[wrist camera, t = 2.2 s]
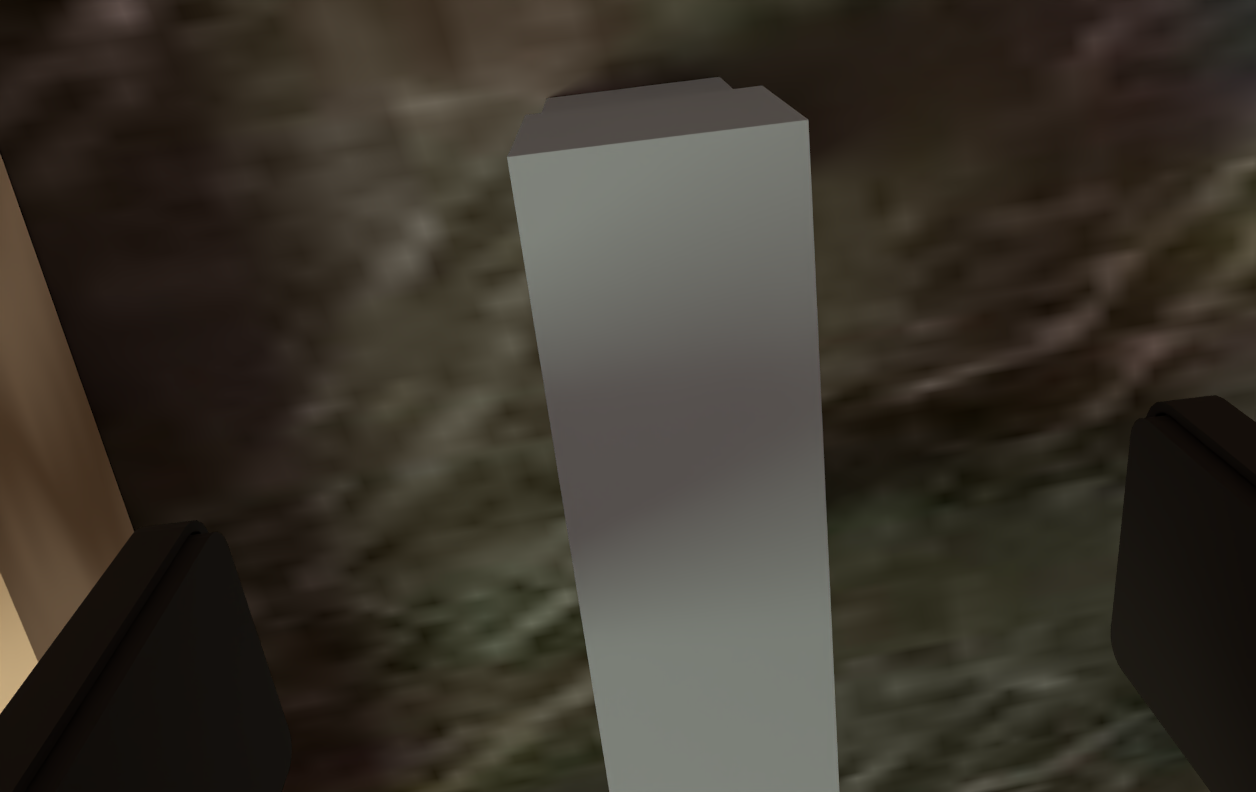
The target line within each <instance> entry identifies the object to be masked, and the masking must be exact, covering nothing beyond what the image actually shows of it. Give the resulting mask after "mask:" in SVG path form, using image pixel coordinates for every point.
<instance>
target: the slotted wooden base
mask: <svg viewBox="0 0 1256 792" xmlns="http://www.w3.org/2000/svg"><path fill="white" fill-rule="evenodd" d="M133 533H134V530H133V527H132V524H131V522H130V519H129V516H128V513H127V510H126V507H125V505H124V502H123V499H122V496H121V493H120V491H119V488H118V485H117V482H116V479H115V476H114V474H113V471H112V468H111V465H110V462H109V459H108V457H107V454H106V451H105V448H104V445H103V442H102V440H101V437H100V434H99V431H98V428H97V426H96V423H95V420H94V417H93V414H92V411H91V409H90V406H89V403H88V400H87V397H86V394H85V392H84V389H83V386H82V383H81V380H80V377H79V375H78V372H77V369H76V366H75V363H74V360H73V358H72V355H71V352H70V349H69V346H68V344H67V341H66V338H65V335H64V332H63V329H62V327H61V324H60V321H59V318H58V315H57V312H56V310H55V307H54V304H53V301H52V298H51V295H50V293H49V290H48V287H47V284H46V281H45V279H44V276H43V273H42V270H41V267H40V264H39V262H38V259H37V256H36V253H35V250H34V247H33V245H32V242H31V239H30V236H29V233H28V230H27V228H26V225H25V222H24V219H23V216H22V214H21V211H20V208H19V205H18V202H17V199H16V197H15V194H14V191H13V188H12V185H11V182H10V180H9V177H8V174H7V171H6V168H5V165H4V163H3V160H2V157H1V154H0V714H1V712H2V711H3V709H4V708H5V707H6V705H7V704H8V703H9V701H10V700H11V699H12V697H13V696H14V695H15V693H16V692H17V690H18V689H19V688H20V686H21V685H22V684H23V682H24V681H25V680H26V678H27V677H28V675H29V674H30V673H31V671H32V670H33V669H34V667H35V666H36V665H37V663H38V662H39V660H40V659H41V658H42V656H43V655H44V654H45V652H46V651H47V650H48V648H49V647H50V645H51V644H52V643H53V641H54V640H55V639H56V637H57V636H58V635H59V633H60V632H61V631H62V629H63V628H64V626H65V625H66V624H67V622H68V621H69V620H70V618H71V617H72V616H73V614H74V613H75V611H76V610H77V609H78V607H79V606H80V605H81V603H82V602H83V601H84V599H85V598H86V596H87V595H88V594H89V592H90V591H91V590H92V588H93V587H94V586H95V584H96V583H97V582H98V580H99V579H100V577H101V576H102V575H103V573H104V572H105V571H106V569H107V568H108V567H109V565H110V564H111V562H112V561H113V560H114V558H115V557H116V556H117V554H118V553H119V552H120V550H121V549H122V547H123V546H124V545H125V543H126V542H127V541H128V539H129V538H130V537H131V535H132V534H133Z"/></svg>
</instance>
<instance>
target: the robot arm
mask: <svg viewBox="0 0 1256 792" xmlns="http://www.w3.org/2000/svg"><path fill="white" fill-rule="evenodd" d="M1111 643H1112V648H1113V652H1114V655H1115V658H1116V660H1117V663H1118V664H1119V666H1120V668H1121V669H1122V671H1123V672H1124V674H1125V675H1126V676H1127V678H1128V679H1129V681H1130V682H1131V683H1132V685H1133V686H1134V687H1135V689H1136V690H1137V691H1138V693H1139V694H1140V696H1141V697H1142V698H1143V700H1144V701H1145V702H1146V704H1147V705H1148V707H1149V708H1150V709H1151V711H1152V712H1153V713H1154V715H1155V716H1156V717H1157V719H1158V720H1159V722H1160V723H1161V724H1162V726H1163V727H1164V728H1165V730H1166V731H1167V732H1168V734H1169V735H1170V737H1171V738H1172V739H1173V741H1174V742H1175V743H1176V745H1177V746H1178V748H1179V749H1180V750H1181V752H1182V753H1183V754H1184V756H1185V757H1186V758H1187V760H1188V761H1189V763H1190V764H1191V765H1192V767H1193V768H1194V769H1195V771H1196V772H1197V774H1198V775H1199V776H1200V778H1201V779H1202V780H1203V782H1204V783H1205V784H1206V786H1207V787H1208V789H1209V790H1210V791H1211V792H1256V422H1255V421H1253V420H1252V419H1251V418H1249V417H1248V416H1246V415H1245V414H1244V413H1242V412H1241V411H1240V410H1238V409H1237V408H1235V407H1234V406H1233V405H1231V404H1230V403H1229V402H1227V401H1226V400H1225V399H1223V398H1221V397H1218V396H1216V395H1215V396H1204V397H1196V398H1188V399H1180V400H1172V401H1164V402H1157V403H1155V404H1154V405H1153V406H1151V408H1150V410H1149V412H1148V414H1147V417H1146V418H1140V419H1138V420H1137V421H1135V423H1134V425H1133V427H1132V431H1131V436H1130V446H1129V456H1128V466H1127V476H1126V486H1125V495H1124V505H1123V515H1122V525H1121V535H1120V545H1119V554H1118V564H1117V574H1116V584H1115V594H1114V603H1113V613H1112V623H1111ZM291 755H292V745H291V736H290V732H289V728H288V725H287V722H286V719H285V716H284V713H283V710H282V707H281V704H280V701H279V698H278V695H277V692H276V689H275V686H274V683H273V680H272V677H271V674H270V671H269V668H268V665H267V662H266V659H265V656H264V653H263V650H262V647H261V644H260V640H259V637H258V634H257V631H256V628H255V625H254V622H253V619H252V616H251V613H250V610H249V607H248V604H247V601H246V598H245V595H244V592H243V589H242V586H241V583H240V580H239V577H238V574H237V571H236V568H235V565H234V562H233V559H232V556H231V553H230V550H229V547H228V544H227V542H226V540H225V538H224V537H223V535H222V534H221V533H219V532H212V533H208V530H207V529H206V528H205V526H204V525H203V524H202V523H201V522H199V521H197V520H196V521H187V522H179V523H171V524H163V525H155V526H147V527H141V528H138V529H137V530H136V531H135V532H134V533H133V534H132V535H131V537H130V538H129V539H128V541H127V542H126V543H125V545H124V546H123V547H122V549H121V550H120V552H119V553H118V554H117V556H116V557H115V558H114V560H113V561H112V562H111V564H110V565H109V567H108V568H107V569H106V571H105V572H104V573H103V575H102V576H101V577H100V579H99V580H98V582H97V583H96V584H95V586H94V587H93V588H92V590H91V591H90V592H89V594H88V595H87V596H86V598H85V599H84V601H83V602H82V603H81V605H80V606H79V607H78V609H77V610H76V611H75V613H74V614H73V616H72V617H71V618H70V620H69V621H68V622H67V624H66V625H65V626H64V628H63V629H62V631H61V632H60V633H59V635H58V636H57V637H56V639H55V640H54V641H53V643H52V644H51V645H50V647H49V648H48V650H47V651H46V652H45V654H44V655H43V656H42V658H41V659H40V660H39V662H38V663H37V665H36V666H35V667H34V669H33V670H32V671H31V673H30V674H29V675H28V677H27V678H26V680H25V681H24V682H23V684H22V685H21V686H20V688H19V689H18V690H17V692H16V693H15V695H14V696H13V697H12V699H11V700H10V701H9V703H8V704H7V705H6V707H5V708H4V709H3V711H2V712H1V714H0V792H282V789H283V786H284V783H285V780H286V777H287V774H288V771H289V768H290V764H291Z"/></svg>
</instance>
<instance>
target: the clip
mask: <svg viewBox="0 0 1256 792" xmlns="http://www.w3.org/2000/svg"><path fill="white" fill-rule="evenodd" d="M507 159H508V165H509V171H510V178H511V184H512V190H513V196H514V202H515V209H516V215H517V221H518V227H519V233H520V240H521V246H522V252H523V258H524V264H525V271H526V277H527V283H528V289H529V295H530V302H531V308H532V314H533V320H534V326H535V333H536V339H537V345H538V351H539V357H540V364H541V370H542V376H543V382H544V388H545V395H546V401H547V407H548V413H549V419H550V426H551V432H552V438H553V444H554V450H555V457H556V463H557V469H558V475H559V481H560V488H561V494H562V500H563V506H564V512H565V519H566V525H567V531H568V537H569V543H570V550H571V556H572V562H573V568H574V574H575V581H576V587H577V593H578V599H579V605H580V612H581V618H582V624H583V630H584V636H585V643H586V649H587V655H588V661H589V668H590V674H591V680H592V686H593V692H594V699H595V705H596V711H597V717H598V723H599V730H600V736H601V742H602V748H603V754H604V761H605V767H606V773H607V779H608V785H609V792H839V775H838V753H837V731H836V710H835V688H834V666H833V644H832V622H831V601H830V579H829V557H828V535H827V514H826V492H825V470H824V448H823V426H822V405H821V383H820V361H819V339H818V318H817V296H816V274H815V252H814V231H813V209H812V187H811V165H810V143H809V122H808V119H807V118H805V117H804V116H803V115H801V114H800V113H799V112H797V111H796V110H795V109H793V108H792V107H791V106H789V105H788V104H786V103H785V102H784V101H782V100H781V99H780V98H778V97H777V96H776V95H774V94H773V93H772V92H770V91H769V90H768V89H766V88H765V87H764V86H754V87H746V88H738V89H732V88H731V87H730V86H729V85H728V84H727V83H726V82H725V81H724V80H723V79H721V78H720V77H714V78H706V79H698V80H690V81H682V82H673V83H665V84H657V85H649V86H641V87H633V88H625V89H617V90H609V91H601V92H593V93H585V94H577V95H569V96H561V97H553V98H547V99H546V102H545V105H544V108H543V111H542V113H537V114H529V115H525V117H524V120H523V122H522V124H521V126H520V129H519V131H518V133H517V136H516V138H515V140H514V143H513V145H512V147H511V149H510V152H509V154H508V156H507Z"/></svg>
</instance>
